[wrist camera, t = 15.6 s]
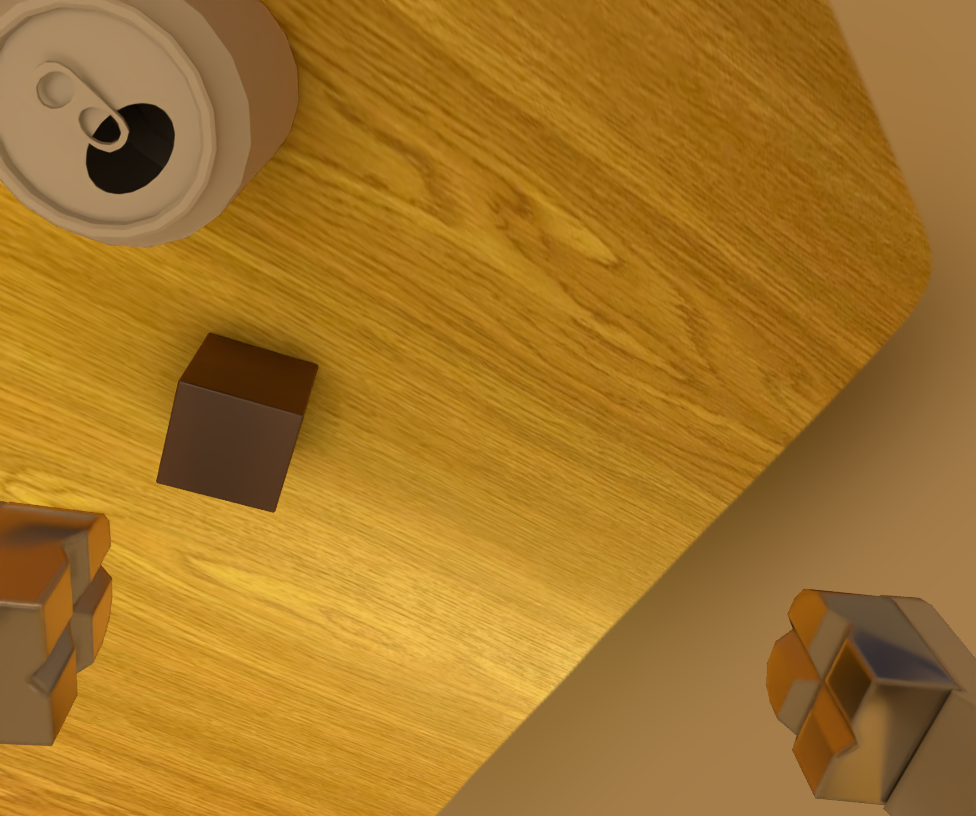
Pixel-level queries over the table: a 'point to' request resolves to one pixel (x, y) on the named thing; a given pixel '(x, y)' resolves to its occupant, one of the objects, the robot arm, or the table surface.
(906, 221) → the table surface
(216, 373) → the walnut block
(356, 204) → the table surface
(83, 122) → the can
